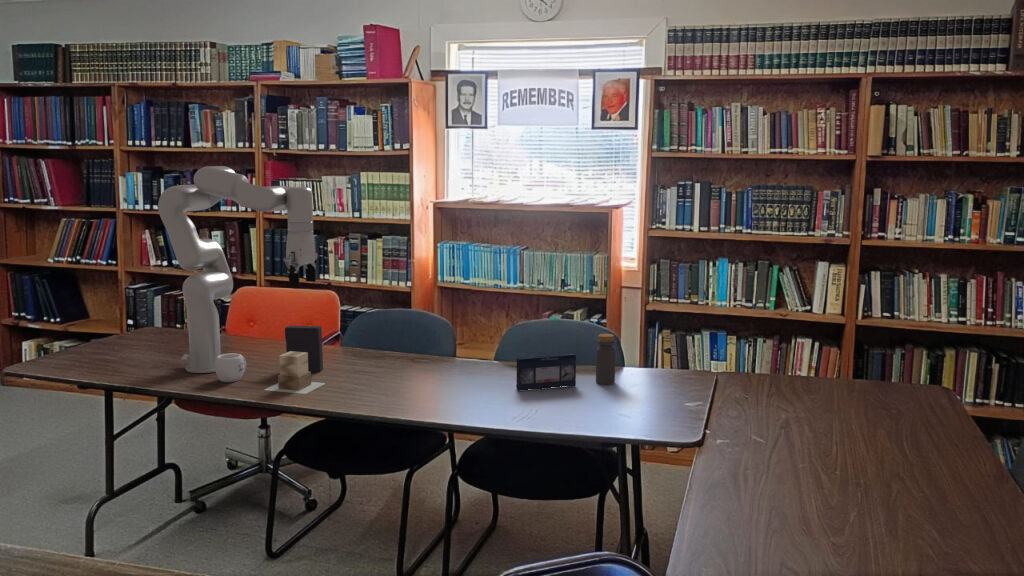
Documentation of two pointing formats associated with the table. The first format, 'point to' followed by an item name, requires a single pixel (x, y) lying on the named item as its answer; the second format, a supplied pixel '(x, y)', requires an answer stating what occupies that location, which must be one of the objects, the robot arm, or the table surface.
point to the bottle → (605, 360)
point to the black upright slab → (306, 344)
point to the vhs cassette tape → (546, 371)
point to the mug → (230, 367)
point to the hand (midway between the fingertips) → (302, 283)
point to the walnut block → (294, 381)
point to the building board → (302, 391)
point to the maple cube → (293, 363)
